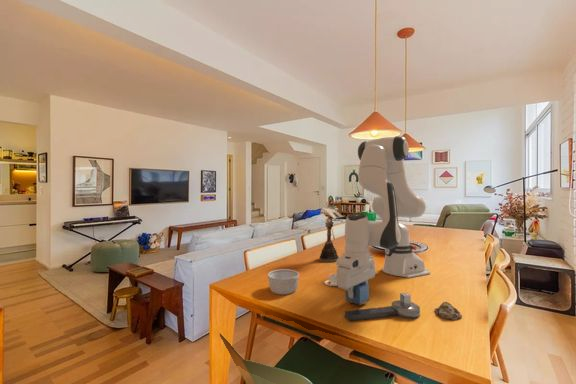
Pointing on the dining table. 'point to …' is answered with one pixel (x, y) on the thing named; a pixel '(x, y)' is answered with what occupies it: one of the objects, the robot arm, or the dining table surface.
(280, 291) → the ramekin
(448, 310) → the mineral rock
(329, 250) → the bird statue
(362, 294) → the slate grey cube
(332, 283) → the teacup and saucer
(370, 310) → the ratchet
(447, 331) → the dining table surface
